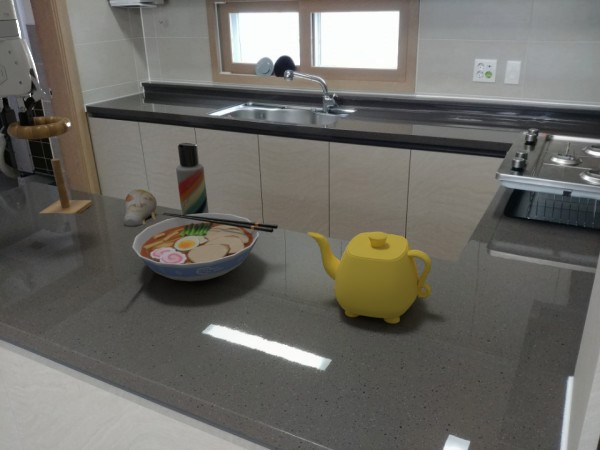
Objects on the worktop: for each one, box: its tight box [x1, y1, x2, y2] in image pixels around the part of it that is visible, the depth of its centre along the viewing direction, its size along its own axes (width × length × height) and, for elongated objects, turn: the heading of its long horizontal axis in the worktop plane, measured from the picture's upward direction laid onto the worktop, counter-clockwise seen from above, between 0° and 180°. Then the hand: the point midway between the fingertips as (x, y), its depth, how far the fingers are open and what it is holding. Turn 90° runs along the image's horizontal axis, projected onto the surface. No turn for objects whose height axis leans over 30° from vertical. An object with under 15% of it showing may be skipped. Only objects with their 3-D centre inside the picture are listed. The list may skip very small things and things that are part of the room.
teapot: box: [307, 231, 433, 324], centre depth 85 cm, size 14×20×13 cm
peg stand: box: [39, 157, 93, 214], centre depth 130 cm, size 9×9×13 cm
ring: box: [7, 115, 72, 140], centre depth 104 cm, size 11×11×2 cm
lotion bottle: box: [175, 142, 210, 215], centre depth 114 cm, size 6×6×20 cm
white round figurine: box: [123, 188, 158, 227], centre depth 123 cm, size 8×10×10 cm
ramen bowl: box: [131, 212, 279, 282], centre depth 99 cm, size 25×23×8 cm
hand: (20, 130), depth 104 cm, fingers closed on ring, 2 cm apart
